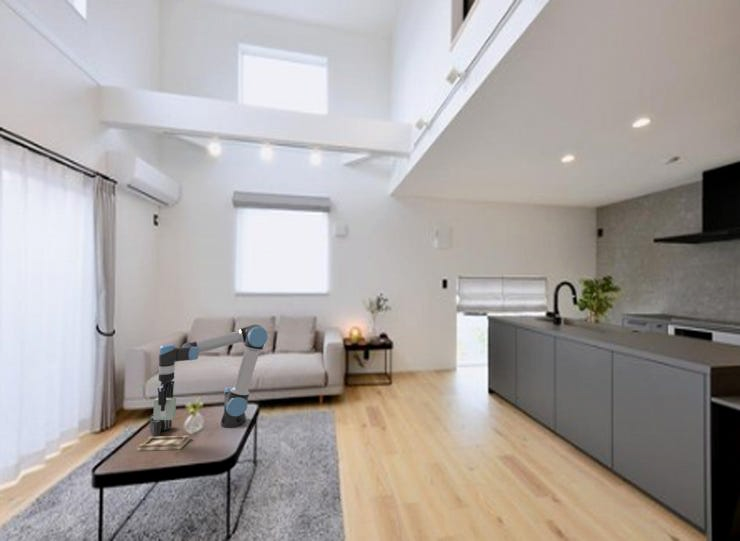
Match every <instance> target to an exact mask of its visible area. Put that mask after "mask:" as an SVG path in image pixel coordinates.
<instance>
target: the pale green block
mask: <svg viewBox="0 0 740 541" xmlns="http://www.w3.org/2000/svg"><path fill="white" fill-rule="evenodd" d="M166 404H167V410H166V417H161V405H158V397H156V398H155V399H154V400H153V414H154V415H153V420H171V421H172V420H174V419H175V418H176V409H177V406H176V405H177V397H173V398H166Z"/></svg>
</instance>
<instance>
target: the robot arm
mask: <svg viewBox="0 0 740 541" xmlns="http://www.w3.org/2000/svg"><path fill="white" fill-rule="evenodd" d="M268 338H269V333H268V331H267V330H266V329H265V327H262V326H261V325H259V324H251V325H249V326H248V325H247V326H245V327H242V328H239V330H236V331H233V332H228V333H224V334H220V335H216V336H211V337H209V338H204V339H201V340H197V341H192V342H186V343H183V344H182V346H181V347H176V345H175V344H164V345H160V347H159V354H158V358H159V359H158V381H159V382H160V387H158V388H157V392H158V394H157V398H158V405H161V417H166V410H167V404H166V398H174V385H175V367H176V366H175V365H176V364H175V363H176V362H183V361H185V362H186V361H194V360H195V361H196V360H198V359H199V354H200V353H205V352H209V351H211V350H215V349H219V348H224V347H226V346H227V347H228V346H231V345H234V344H239V343H242V344H243V347H244V349H245V350H244V353H243V355H242V359H241V361H240V362H241V363H240V365H239V369H238V372H237V375H236V377H235V378H236V379H235V382H234V385H230V386H227V387H226V388H224V392H223V393H224V400H223V404H224V407H223V414H222V416H221V419H220V426H221V427H223V428H237V427H240V426H242V425H244V424H245V423H246V421H247V416H246V413H245V412H246V411H247V409H248V399H249V396H250V391H249V388H250V385H251V382H252V379H253V378H252V377H253V374H254V371H255V368H256V364H257V361H258V358H259V355H260V352H261V351H263V350H264V347H265V344H266V343H267V341H268Z"/></svg>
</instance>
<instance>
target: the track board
mask: <svg viewBox="0 0 740 541" xmlns="http://www.w3.org/2000/svg"><path fill="white" fill-rule="evenodd" d="M190 439H191V436H190V435H165V436H164V435H163V436H161V435H160V436H157V437H153V436H148V437H147V439H146V440H145V441H143V442H142V443H140V444H138V446H137V449H136V451H137V452H143V451H144V452H145V451H147V452H148V451H171V450H181V449H182V448H183V447H184V446H185V445H186V444H187V443H188V442H189V441H190Z"/></svg>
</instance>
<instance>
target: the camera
mask: <svg viewBox="0 0 740 541" xmlns="http://www.w3.org/2000/svg"><path fill="white" fill-rule="evenodd" d="M153 415H154V413H152V414H151V415H150V419H149V432H150V433H151V435H152V437H157V436H161V434H162V432H161V431H166V430H169V429H171V428H172V425H173V424H172V420H153Z"/></svg>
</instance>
